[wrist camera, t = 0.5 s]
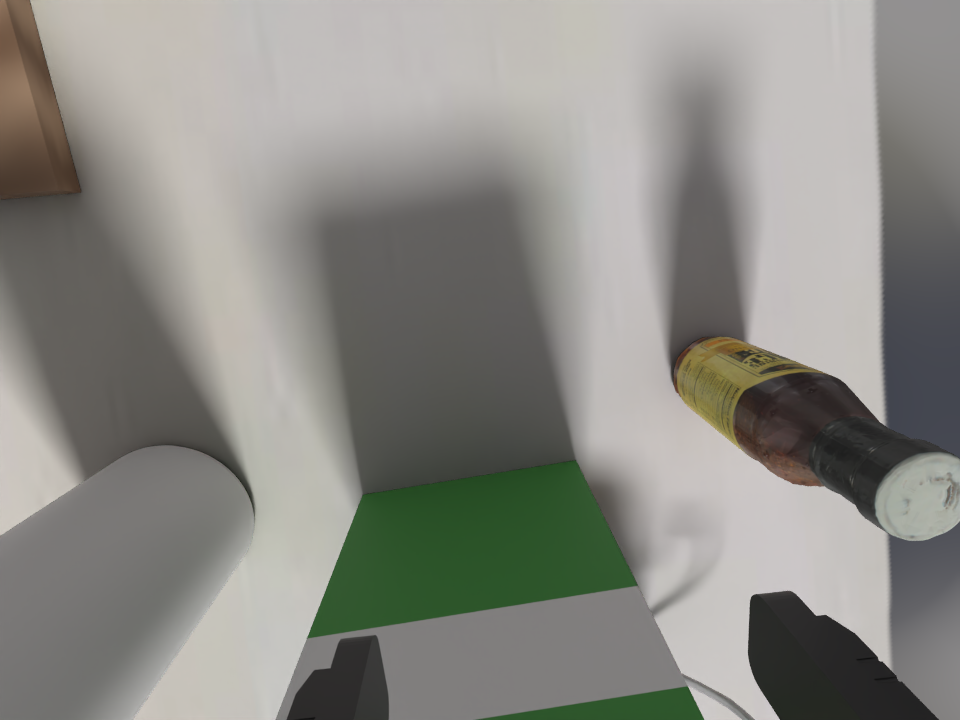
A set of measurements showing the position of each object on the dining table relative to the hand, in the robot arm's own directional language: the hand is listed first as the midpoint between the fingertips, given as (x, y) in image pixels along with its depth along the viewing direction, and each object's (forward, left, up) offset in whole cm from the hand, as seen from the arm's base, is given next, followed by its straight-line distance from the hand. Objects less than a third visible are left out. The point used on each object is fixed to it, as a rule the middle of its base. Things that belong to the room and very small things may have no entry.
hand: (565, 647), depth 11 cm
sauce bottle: (+3, +16, -29) cm, 33 cm away
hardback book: (+14, -3, -29) cm, 32 cm away
